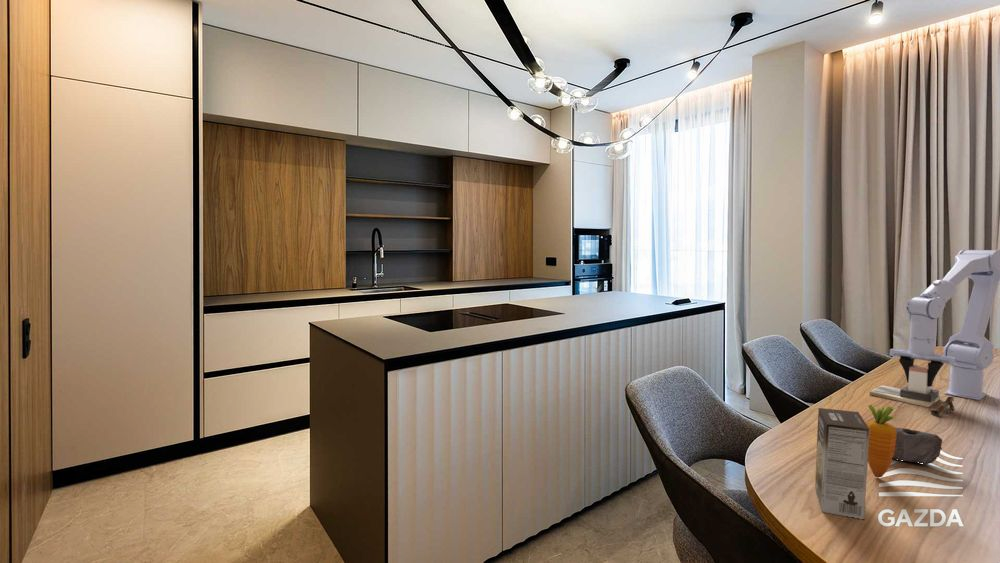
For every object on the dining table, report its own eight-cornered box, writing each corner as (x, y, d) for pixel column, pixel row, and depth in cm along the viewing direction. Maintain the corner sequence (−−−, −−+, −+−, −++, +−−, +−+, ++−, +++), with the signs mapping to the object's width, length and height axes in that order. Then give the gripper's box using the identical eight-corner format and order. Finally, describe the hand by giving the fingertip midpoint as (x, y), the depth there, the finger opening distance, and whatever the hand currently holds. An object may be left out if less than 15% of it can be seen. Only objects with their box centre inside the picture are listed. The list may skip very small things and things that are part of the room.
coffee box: (813, 488, 94) (817, 406, 92) (853, 495, 91) (858, 411, 90) (821, 512, 85) (825, 422, 84) (866, 521, 83) (871, 428, 81)
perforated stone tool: (849, 451, 110) (851, 421, 109) (854, 444, 114) (856, 415, 113) (939, 473, 99) (941, 440, 99) (941, 465, 103) (943, 433, 103)
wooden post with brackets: (959, 409, 134) (956, 395, 133) (941, 424, 132) (937, 410, 131) (951, 407, 136) (948, 393, 135) (933, 422, 133) (930, 408, 132)
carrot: (855, 473, 100) (859, 400, 98) (878, 471, 100) (882, 400, 99) (876, 485, 95) (880, 409, 94) (900, 483, 95) (905, 408, 94)
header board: (881, 388, 156) (882, 379, 156) (939, 399, 145) (940, 389, 145) (869, 394, 150) (870, 385, 149) (929, 407, 138) (929, 396, 138)
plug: (912, 390, 147) (914, 364, 146) (930, 393, 144) (931, 367, 143) (907, 393, 144) (909, 367, 144) (925, 397, 141) (927, 369, 140)
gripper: (887, 336, 146) (884, 381, 147) (952, 344, 135) (948, 392, 136) (894, 333, 150) (892, 377, 151) (958, 341, 139) (955, 388, 140)
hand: (919, 384), depth 144 cm, fingers closed on plug, 4 cm apart
